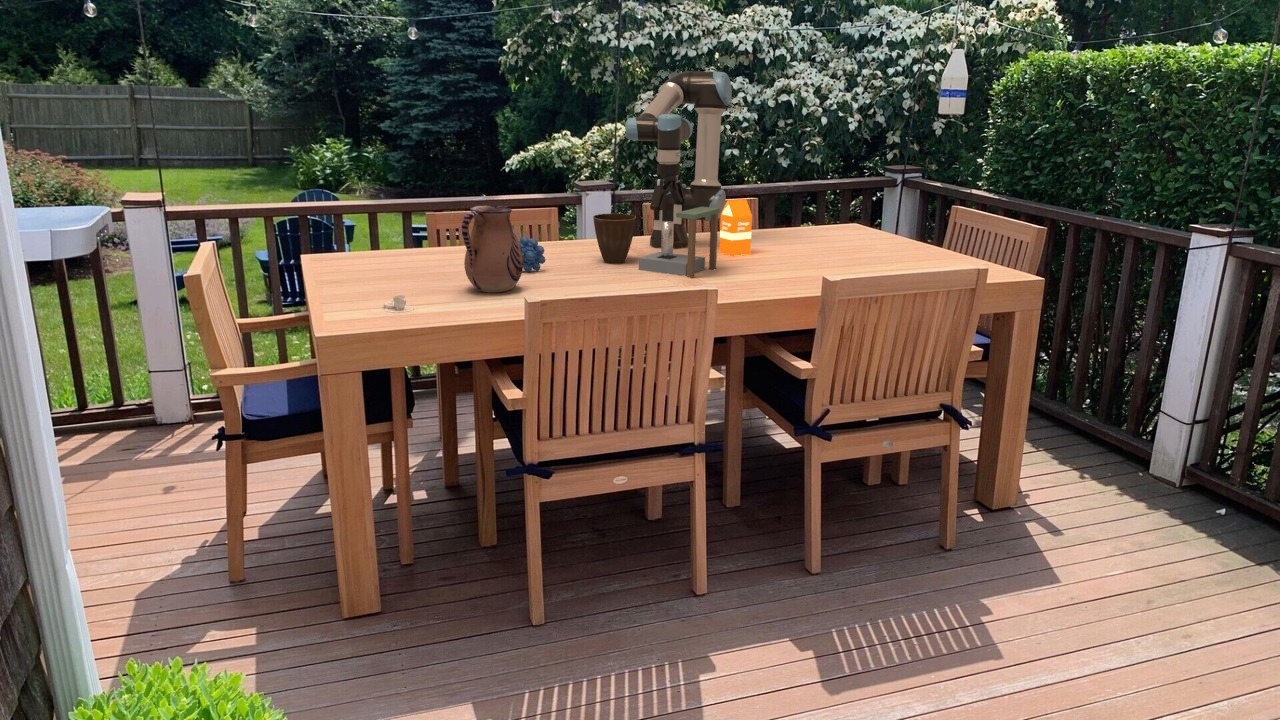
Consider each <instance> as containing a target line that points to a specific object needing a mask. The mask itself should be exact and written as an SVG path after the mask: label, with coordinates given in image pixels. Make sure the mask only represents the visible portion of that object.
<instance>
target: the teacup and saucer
mask: <svg viewBox="0 0 1280 720" xmlns="http://www.w3.org/2000/svg"><path fill="white" fill-rule="evenodd" d="M405 298H406V297H405V295H402V294H396V295H392V299H393V301H385V302H383V307H384V311H385V312H388V313H398V314H399V313H407V312H412V311H414V309H415V308H414V306H411V305H406V303H407V301H406V299H405ZM405 308H408V309H407V310H404V309H405ZM390 309H392V310H390ZM393 309H395V310H396V311H393ZM402 310H403V311H402Z"/></svg>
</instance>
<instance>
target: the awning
mask: <svg viewBox="0 0 1280 720" xmlns="http://www.w3.org/2000/svg"><path fill="white" fill-rule="evenodd" d="M718 213H720V208H711V207H698V208H694V209H690V210H686V211H682V212H678V213H676V218H686V219H685V220H688V230H687V231H688V232H687V235H688V246H687V255H688V263H687V276H686V277H690V279H694V278H695V277H696V276H695V274H696V272H695V256H696V245H697V243H696V242H697V241H696V239H697V238H696V237H697V236H696V235H697V220H696V219H699V218H702V217H706V216H710V215H711V221H710V225H709V226H710V233H709V234H710V235H709V261H708V269H709V270H710V269H711V271H712V270H713V271H714V269H715V270H716V269H717V256H718V253H717V251H718V224H719V223H718V222H719V219H718ZM693 277H694V278H693Z"/></svg>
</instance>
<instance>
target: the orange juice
mask: <svg viewBox="0 0 1280 720" xmlns="http://www.w3.org/2000/svg"><path fill="white" fill-rule="evenodd" d="M719 225H720V227H719V228H720V230H719V251H718V252H720V253H724V254H727V255H730V256H729V257H731V256H733V257H735V256H734V255H741V254H749V253H750V254H751V248H752V247H751V246H752V245H751V244H752V226H753V214H752V212H751V209H750V205H749V204H748V201H747V198H744V199H730V200H729V199H728V200H727V201H726V202H725V206H724V209H723V211H722V213H721V217H720V224H719ZM720 253H719V254H720ZM724 254H723V255H724ZM727 255H726V256H727Z"/></svg>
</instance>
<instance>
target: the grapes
mask: <svg viewBox="0 0 1280 720" xmlns="http://www.w3.org/2000/svg"><path fill="white" fill-rule="evenodd" d="M518 242H519V245H520V250H521V253H522V259H523V270H524V271H525V272H526V273H527V272H528V273H530V272H532V270H534V271H537V272H538V271H539V270H541V268H542V267H541V265H543V264H545V262H546V260H547V259H546V258H545V255H543V254H544V253H545V251H546V250H545V249H544V246H542V245H539V242H538V240H537V239H536V238H532V237H531V238H530V239H529V238H528V237H527V236H524V235H523V236H521V237H520V240H518Z"/></svg>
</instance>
